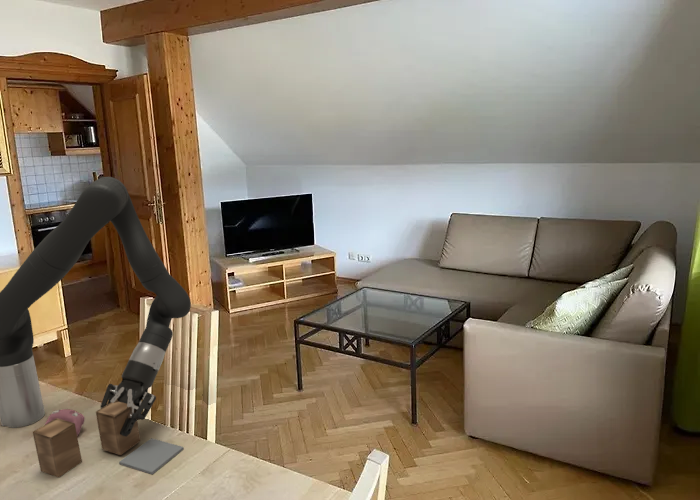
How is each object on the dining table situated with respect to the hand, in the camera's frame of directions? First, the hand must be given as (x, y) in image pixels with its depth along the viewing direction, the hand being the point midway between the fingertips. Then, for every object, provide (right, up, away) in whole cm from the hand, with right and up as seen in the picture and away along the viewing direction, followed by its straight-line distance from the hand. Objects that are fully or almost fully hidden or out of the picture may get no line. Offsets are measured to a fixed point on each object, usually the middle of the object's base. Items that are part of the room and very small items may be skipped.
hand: (113, 432), depth 129 cm
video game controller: (-16, -4, +10) cm, 20 cm away
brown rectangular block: (+1, -4, +3) cm, 5 cm away
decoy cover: (-10, -7, -3) cm, 13 cm away
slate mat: (+10, -5, -1) cm, 11 cm away
